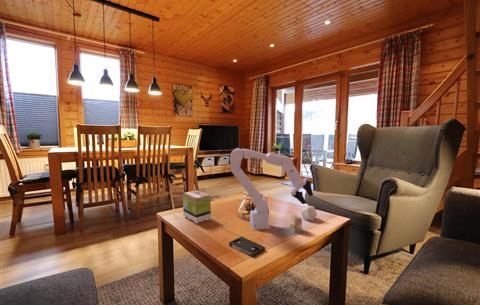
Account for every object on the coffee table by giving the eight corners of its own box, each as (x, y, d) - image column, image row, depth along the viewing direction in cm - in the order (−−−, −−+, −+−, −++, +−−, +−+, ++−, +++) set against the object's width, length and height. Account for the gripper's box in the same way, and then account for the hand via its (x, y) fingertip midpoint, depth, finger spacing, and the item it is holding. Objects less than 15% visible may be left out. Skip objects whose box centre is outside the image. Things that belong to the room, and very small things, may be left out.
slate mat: (280, 237, 109) (280, 236, 109) (273, 229, 118) (273, 228, 117) (307, 234, 112) (307, 233, 112) (299, 226, 120) (299, 226, 120)
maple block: (293, 232, 113) (294, 218, 112) (290, 229, 117) (290, 215, 116) (301, 231, 114) (302, 218, 113) (298, 228, 118) (298, 215, 117)
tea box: (182, 216, 136) (182, 192, 135) (197, 212, 143) (196, 189, 142) (196, 224, 125) (195, 197, 124) (211, 219, 132) (211, 194, 130)
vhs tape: (228, 246, 101) (228, 242, 101) (241, 240, 107) (241, 236, 107) (252, 259, 91) (252, 254, 91) (265, 251, 97) (265, 247, 97)
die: (309, 225, 124) (320, 211, 124) (296, 214, 129) (306, 200, 128) (311, 225, 132) (321, 211, 131) (298, 215, 136) (308, 202, 136)
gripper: (293, 182, 111) (307, 206, 111) (307, 168, 119) (320, 190, 120) (283, 185, 116) (296, 208, 117) (297, 171, 125) (309, 192, 126)
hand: (307, 199), depth 119 cm, fingers open, 7 cm apart
